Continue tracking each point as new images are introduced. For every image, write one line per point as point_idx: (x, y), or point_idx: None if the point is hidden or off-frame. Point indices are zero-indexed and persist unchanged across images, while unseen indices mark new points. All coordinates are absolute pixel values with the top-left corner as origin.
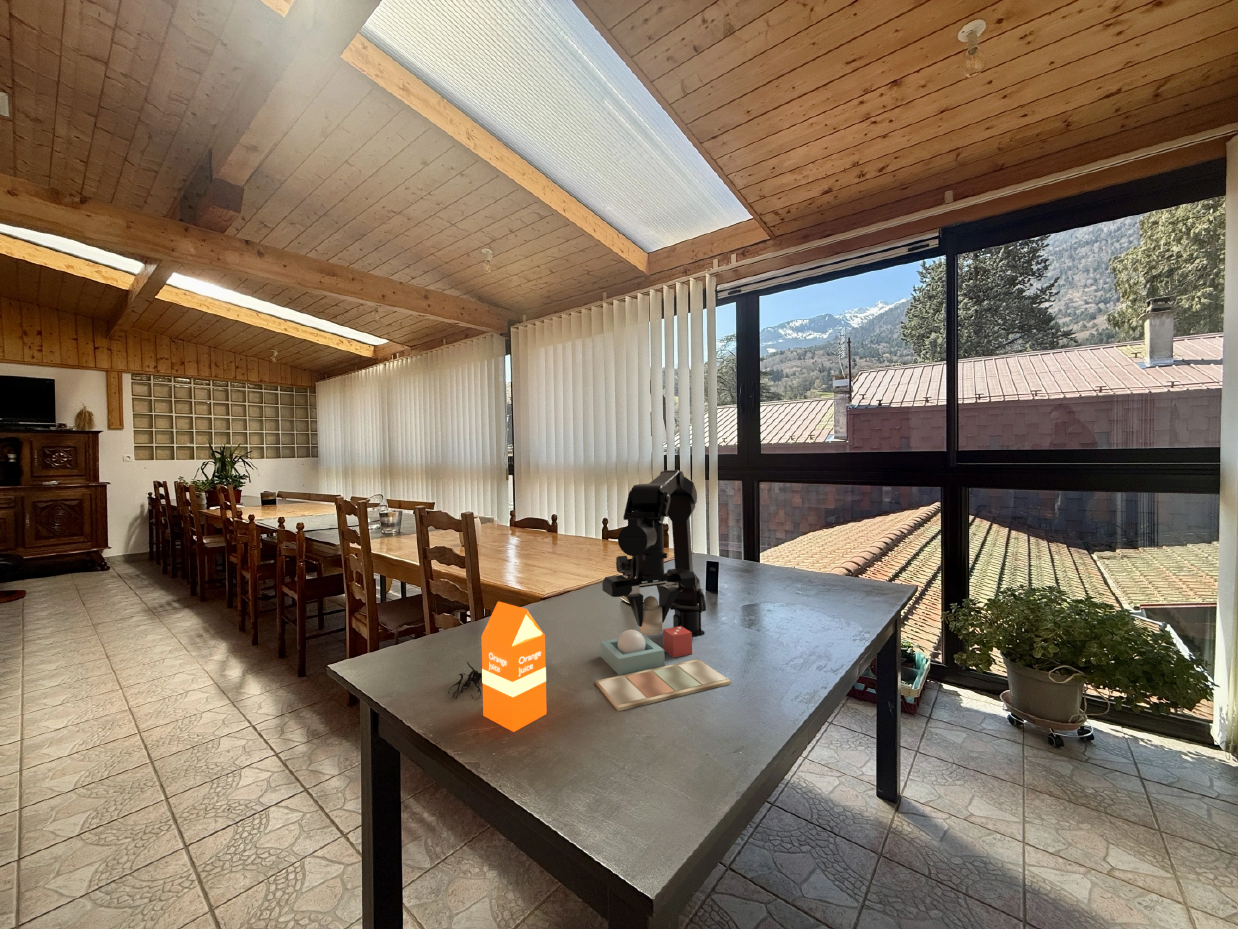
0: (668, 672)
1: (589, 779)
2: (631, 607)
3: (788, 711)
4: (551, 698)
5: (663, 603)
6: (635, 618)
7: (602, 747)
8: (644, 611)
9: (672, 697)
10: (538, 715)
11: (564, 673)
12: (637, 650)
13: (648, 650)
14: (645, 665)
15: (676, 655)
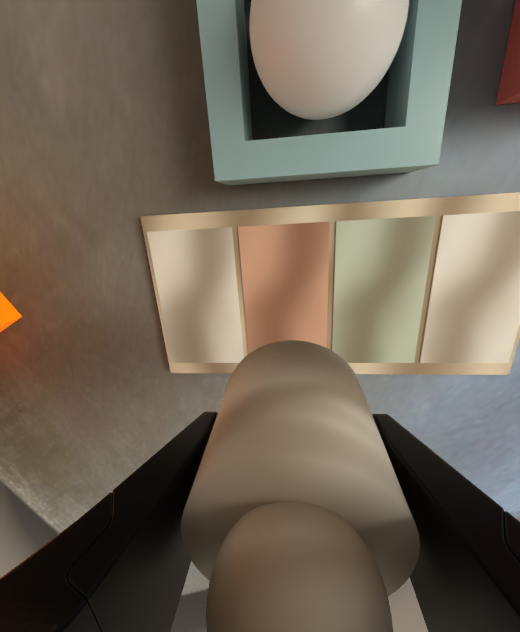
0: (377, 256)
1: (97, 494)
2: (95, 508)
3: (502, 499)
4: (25, 251)
5: (451, 625)
6: (175, 438)
7: (123, 449)
8: (206, 570)
9: None
10: (2, 328)
11: (52, 88)
12: (322, 118)
13: (369, 139)
14: (330, 176)
15: (515, 101)
